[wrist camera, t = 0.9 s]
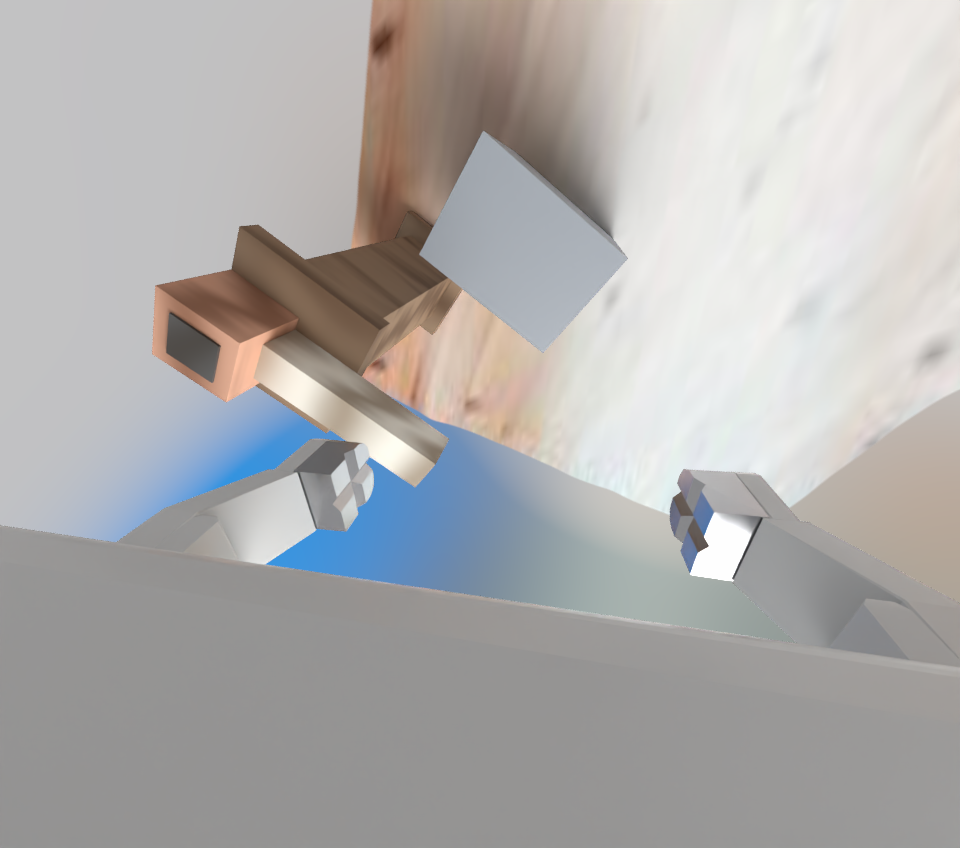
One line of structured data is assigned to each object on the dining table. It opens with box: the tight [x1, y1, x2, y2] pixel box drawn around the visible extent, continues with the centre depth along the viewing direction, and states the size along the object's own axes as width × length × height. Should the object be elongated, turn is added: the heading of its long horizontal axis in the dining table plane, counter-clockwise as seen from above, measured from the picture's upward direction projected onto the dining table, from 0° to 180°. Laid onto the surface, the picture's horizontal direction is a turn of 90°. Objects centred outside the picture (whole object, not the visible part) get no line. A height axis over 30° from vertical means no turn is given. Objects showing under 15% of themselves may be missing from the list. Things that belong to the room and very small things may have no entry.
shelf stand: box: [232, 211, 462, 433], centre depth 36 cm, size 11×10×26 cm
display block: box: [419, 131, 628, 353], centre depth 35 cm, size 10×14×15 cm
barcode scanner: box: [152, 270, 449, 487], centre depth 23 cm, size 18×5×5 cm, turn 55°
